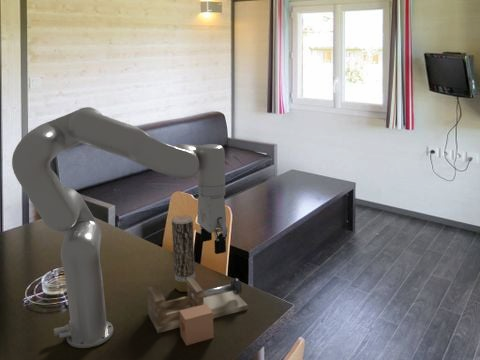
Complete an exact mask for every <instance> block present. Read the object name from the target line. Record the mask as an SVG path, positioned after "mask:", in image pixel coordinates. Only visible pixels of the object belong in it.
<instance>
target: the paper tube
mask: <svg viewBox="0 0 480 360" xmlns="http://www.w3.org/2000/svg"><path fill="white" fill-rule="evenodd" d="M193 221H194V220H193V217H192V216H190V215H185V214H184V215H183V214H182V215H176V216H173V217H172V218H171V229H172V230H171V231H172V233H171V234H172V250H173V267H174V268H173V269H174V270H173V271H174V287H175V289H176V290H177V291H178V292H179V293H181V292H182V293H187V279H188V278H194V279H195V280H196V272H195V271H196V269H195V267H196V266H195V244H194V223H193Z"/></svg>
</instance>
